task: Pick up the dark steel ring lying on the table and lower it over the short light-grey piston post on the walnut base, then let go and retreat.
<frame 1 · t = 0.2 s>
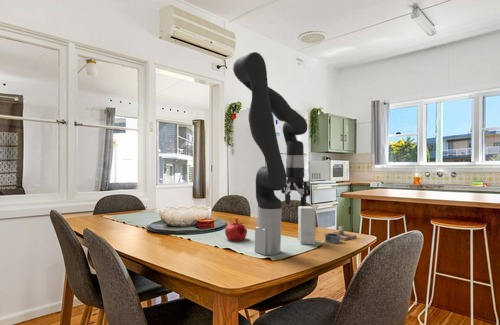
hand: (295, 205, 129), 17 cm above the table, tool pointing down, fingers open, 8 cm apart
skincare box: (305, 242, 136), on the table
steel ring: (332, 241, 138), on the table
pomegranate: (235, 239, 138), on the table
piston stand: (341, 237, 148), on the table
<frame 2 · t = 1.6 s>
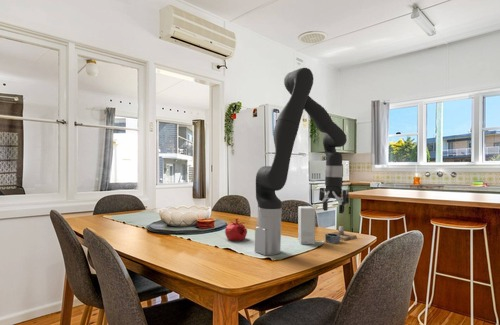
hand: (333, 211, 138), 13 cm above the table, tool pointing down, fingers open, 8 cm apart
nothing on the table moved.
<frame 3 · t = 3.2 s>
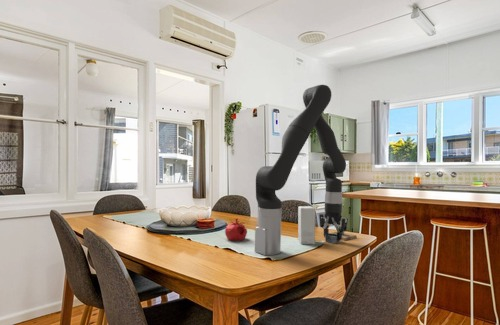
hand: (332, 238, 138), 1 cm above the table, tool pointing down, fingers closed on steel ring, 6 cm apart
steel ring: (332, 241, 138), on the table, touching gripper
everything else where it was.
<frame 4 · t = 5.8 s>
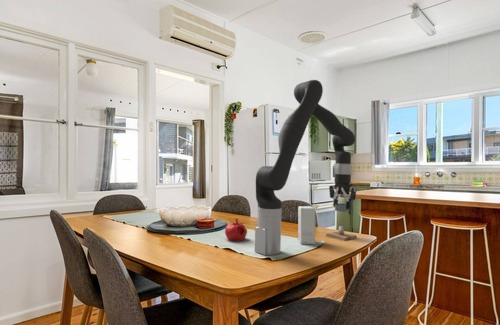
hand: (341, 208, 148), 14 cm above the table, tool pointing down, fingers closed on steel ring, 6 cm apart
steel ring: (341, 210, 148), point 13 cm above the table, touching gripper
everything else where it was.
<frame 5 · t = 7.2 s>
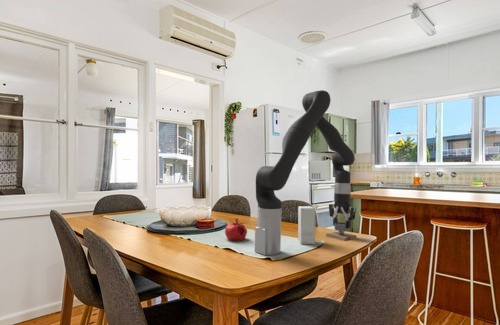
hand: (341, 227, 148), 5 cm above the table, tool pointing down, fingers closed on steel ring, 6 cm apart
steel ring: (341, 229, 148), point 4 cm above the table, touching gripper
everything else where it was.
when the fingers open (3 cm above the table, at t = 8.6 s): steel ring stays where it is, resting on piston stand.
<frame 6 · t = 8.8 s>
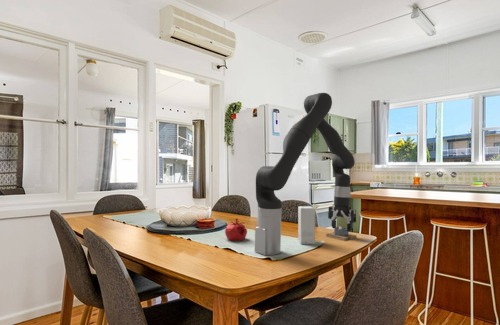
hand: (341, 229, 148), 4 cm above the table, tool pointing down, fingers open, 8 cm apart
steel ring: (341, 234, 148), point 1 cm above the table, touching piston stand
everything else where it was.
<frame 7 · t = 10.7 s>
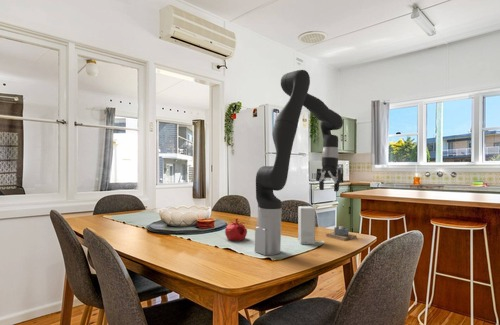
hand: (328, 190, 147), 22 cm above the table, tool pointing down, fingers open, 8 cm apart
nothing on the table moved.
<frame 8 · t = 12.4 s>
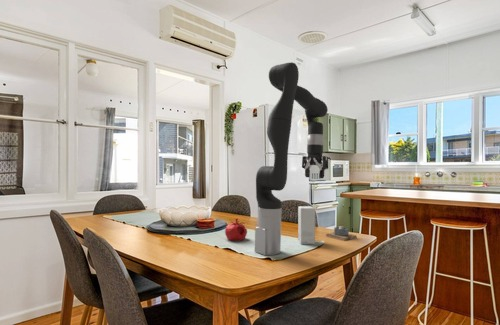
hand: (314, 177, 148), 28 cm above the table, tool pointing down, fingers open, 8 cm apart
nothing on the table moved.
at the end: steel ring 0.0 cm off-centre on the piston stand, point 1.2 cm above the piston stand's base; the gripper is holding nothing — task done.
